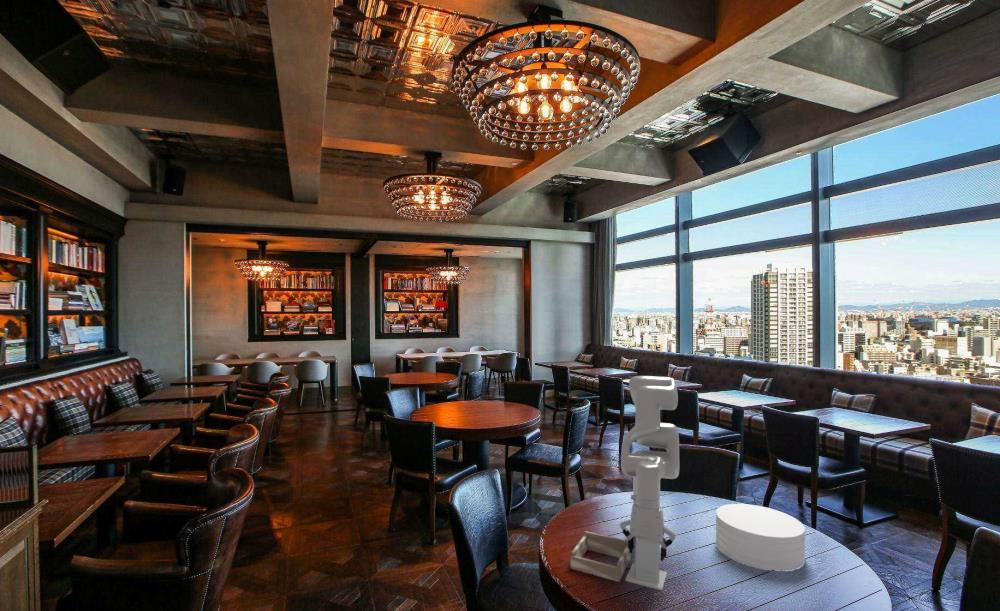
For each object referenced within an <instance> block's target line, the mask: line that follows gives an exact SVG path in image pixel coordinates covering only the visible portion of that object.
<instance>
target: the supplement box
mask: <svg viewBox="0 0 1000 611" xmlns="http://www.w3.org/2000/svg"><path fill="white" fill-rule="evenodd" d="M634 546H635V547H634V564H635V579H639V580H645V581H651V582H658V583H659V570H660V555H661V547H660V546H661V544H660V542H656V541H652V540H647V539H643V538H638V537H634Z"/></svg>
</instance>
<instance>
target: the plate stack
mask: <svg viewBox="0 0 1000 611" xmlns="http://www.w3.org/2000/svg"><path fill="white" fill-rule="evenodd" d="M715 523H716V524H715V545H717V546H716V548H717V547H718V548H717V549H718V550H719V551H720V553H722V554H723V555H724V554H725V555H724V556H726V557H727V556H728V557H727V558H729V559H731V560H732V561H734V562H736V563H740V564H741V563H742V565H744V564H745V565H744V566H747V567H750V568H753V567H755V568H754V569H757V568H759V569H758V570H761V569H766V570H775V571H776V570H778V571H779V570H780V571H783V570H784V571H785V570H792V569H796V568H798V567H800V566H802V565H803V564H804V562H805V563H806V558H805V557H806V550H805V549H806V543H805V542H806V527H805V525H804V524H803V523H802V522H801V521H800V520H799V519H797V518H795V517H794V516H792V515H789V514H787V513H785V512H783V511H781V510H780V511H779V510H777V509H774V508H770V507H766V506H763V505H756V504H747V503H728V504H723V505H721V506H718V508H717V509H716V510H715ZM804 565H805V564H804ZM766 570H765V571H766Z"/></svg>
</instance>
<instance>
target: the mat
mask: <svg viewBox="0 0 1000 611" xmlns="http://www.w3.org/2000/svg"><path fill="white" fill-rule="evenodd" d="M628 570H629V571H628V573H627V575H626V577H625V582H628V583H631V584H636V585H639V586H643V587H647V588H650V589H654V590H659V591H663V589H664V585H665V582H666V579H667V576H668V571H665V570H661V569H659V583H658V582H651V581H645V580H639V579H635V562H633V563H632V564H631V567H630V569H628Z"/></svg>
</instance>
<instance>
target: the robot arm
mask: <svg viewBox="0 0 1000 611" xmlns="http://www.w3.org/2000/svg"><path fill="white" fill-rule="evenodd" d="M628 388H629V393H630V396H631V399H632V402H633V404H634V410H635V419H634V420H635V421H634V422H635V423H634V426H633V427H632V428H631V429H630V430H629V431H628V432H627V433H626V435H625V436H624V438H623V441H622V444H621V456H620V457H621V458H620V459H621V460H620V461H621V462H620V466H621V471H622V473H623V474H624V475H625V476H627V477H632V486H633V488H632V494H631V496H630V500H632V506H631V511H630V512H631V513H630V519H628V520H625V521H621V522H619V527H620V529H621V531H622V534H623V535H624V536H625V537H626V540H627V541H628V549H630V553H631V554H632V553H633V551H635V547H634V546H635V537H638V538H643V539H647V540H652V541H656V542H660V546H661V547H660V561H661V562H664V560H665V558H667V548H668V547H669V546H671V545H672V544H673V542H674V541H675V539H676V537H677V534H676V533H674V532H673V531H671V530H670V529H668V527H666V526H665V520H664V511H663V508H662V507H663V506H661V479H669V480H674V479H677V478H678V477H679V476H680V435H679V430H678V427H677V426H676V425H675V424H673V423H668V422H661V410H666V411H674V410H676V409H677V407H678V404H679V403H678V402H679V394H678V390H677V389H678V388H677V383H676V380H675V379H674V378H673V377H669V376H654V375H635V376H632V377H630V379H629V381H628ZM635 441H636V443H637V444H638V445H639V446H641V447H646V448H647V447H649V448H658V449H664V450H666V451H657V450H648V449H646V450H645V449H639V450H635V451H634V452H633V453H632V452H630V451H631V446H632V444H633V443H634V442H635ZM627 527H628V529H627ZM665 535H667V536H668V537H669V538H668V539H666V538H665V537H664V536H665Z"/></svg>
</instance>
